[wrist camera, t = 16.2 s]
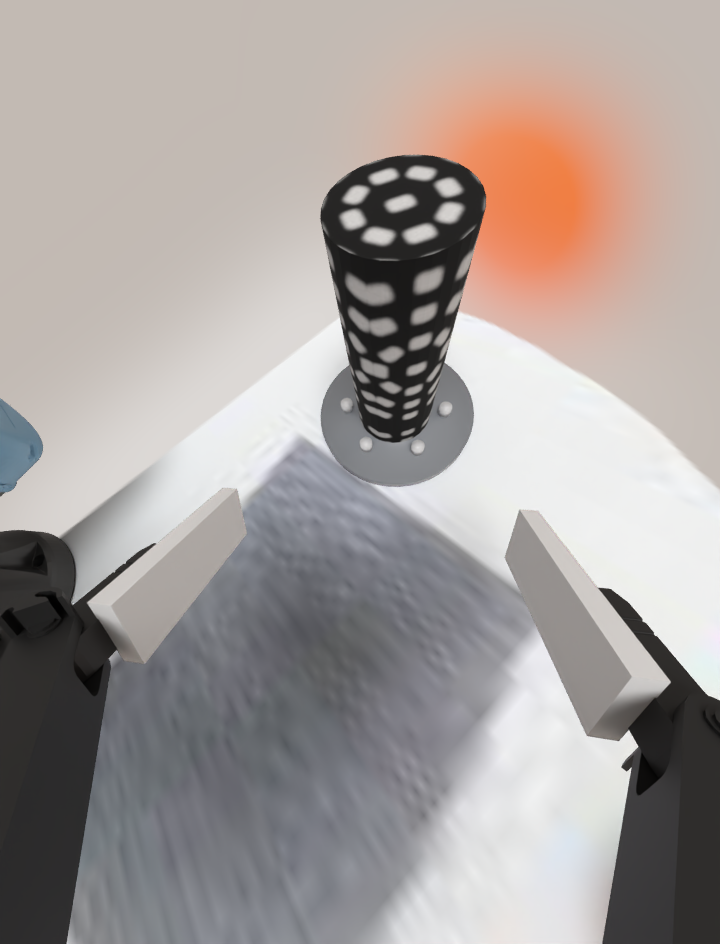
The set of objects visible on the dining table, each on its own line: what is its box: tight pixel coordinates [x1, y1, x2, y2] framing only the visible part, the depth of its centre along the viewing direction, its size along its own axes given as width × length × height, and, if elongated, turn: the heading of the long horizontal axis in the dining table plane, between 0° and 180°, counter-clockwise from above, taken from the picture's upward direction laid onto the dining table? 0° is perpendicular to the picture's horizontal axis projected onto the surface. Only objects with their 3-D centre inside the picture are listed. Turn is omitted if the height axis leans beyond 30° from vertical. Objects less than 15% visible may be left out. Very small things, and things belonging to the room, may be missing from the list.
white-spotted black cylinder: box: [321, 155, 486, 443], centre depth 23 cm, size 8×8×20 cm
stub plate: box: [321, 363, 474, 487], centre depth 33 cm, size 18×18×3 cm
